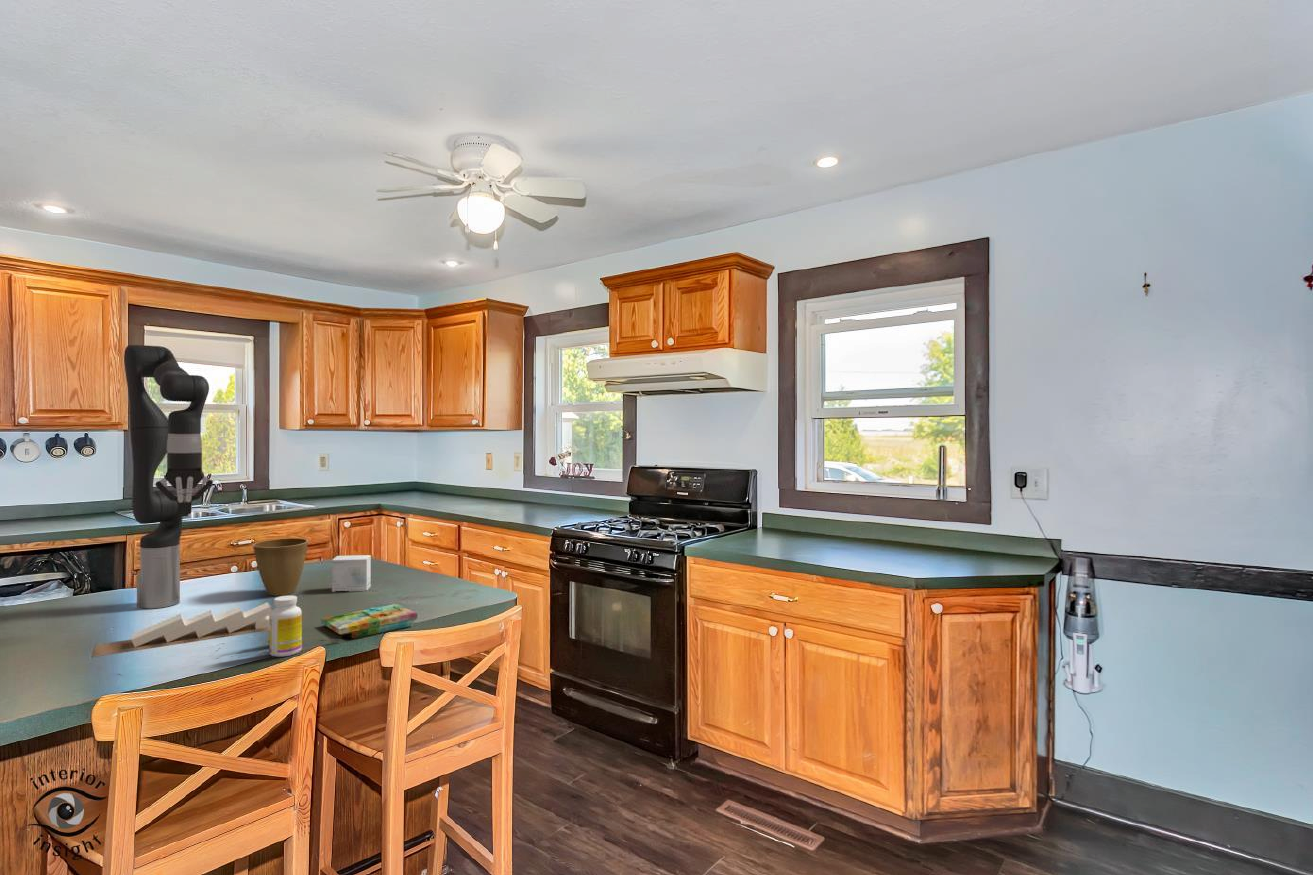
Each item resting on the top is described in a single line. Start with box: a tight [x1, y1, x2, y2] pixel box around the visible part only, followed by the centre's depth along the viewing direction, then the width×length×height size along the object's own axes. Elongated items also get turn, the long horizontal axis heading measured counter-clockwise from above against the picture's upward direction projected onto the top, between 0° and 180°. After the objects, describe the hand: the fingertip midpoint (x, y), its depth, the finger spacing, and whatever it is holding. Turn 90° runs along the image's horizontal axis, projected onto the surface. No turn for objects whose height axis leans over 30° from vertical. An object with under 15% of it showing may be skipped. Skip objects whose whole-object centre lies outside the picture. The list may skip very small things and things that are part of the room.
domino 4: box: [226, 601, 273, 633], centre depth 168 cm, size 2×5×10 cm
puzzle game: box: [320, 603, 418, 639], centre depth 173 cm, size 12×5×20 cm
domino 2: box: [164, 609, 215, 643], centre depth 161 cm, size 2×5×10 cm
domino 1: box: [130, 613, 186, 647], centre depth 157 cm, size 2×5×10 cm
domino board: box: [91, 623, 269, 658], centre depth 161 cm, size 36×10×2 cm, turn 127°
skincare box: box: [331, 554, 372, 593], centre depth 214 cm, size 10×6×10 cm, turn 102°
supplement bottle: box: [268, 595, 303, 658], centre depth 155 cm, size 7×7×13 cm
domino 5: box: [253, 616, 269, 629], centre depth 172 cm, size 2×5×10 cm
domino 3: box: [195, 605, 244, 638], centre depth 165 cm, size 2×5×10 cm
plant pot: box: [252, 537, 309, 597], centre depth 208 cm, size 15×15×16 cm
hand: (184, 516), depth 176 cm, fingers closed
